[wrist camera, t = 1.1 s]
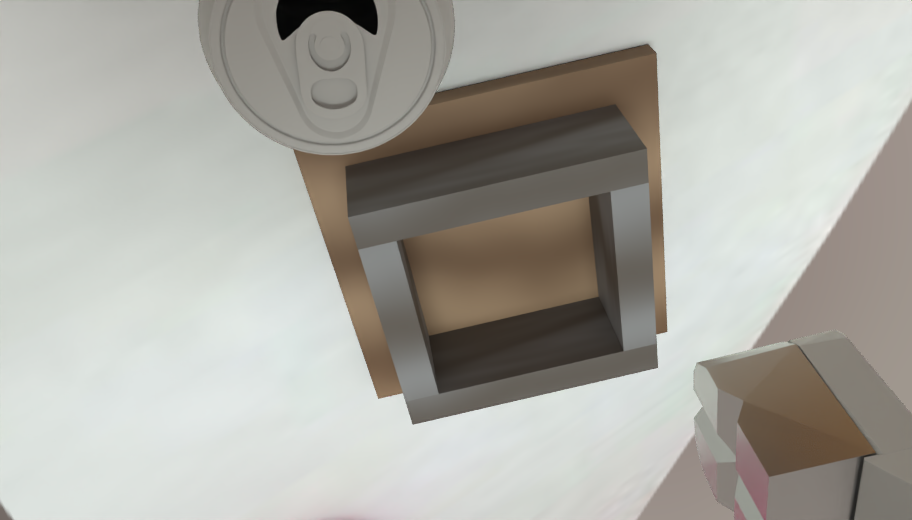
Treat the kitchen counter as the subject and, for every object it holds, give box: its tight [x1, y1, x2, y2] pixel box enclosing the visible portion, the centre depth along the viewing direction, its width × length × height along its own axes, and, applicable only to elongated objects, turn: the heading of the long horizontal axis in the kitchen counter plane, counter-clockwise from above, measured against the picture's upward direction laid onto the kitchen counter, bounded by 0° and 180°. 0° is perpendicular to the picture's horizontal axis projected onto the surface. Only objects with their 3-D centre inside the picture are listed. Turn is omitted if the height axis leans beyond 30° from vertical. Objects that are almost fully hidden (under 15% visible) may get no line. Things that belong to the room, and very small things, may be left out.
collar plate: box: [293, 45, 667, 424], centre depth 36 cm, size 15×15×5 cm
